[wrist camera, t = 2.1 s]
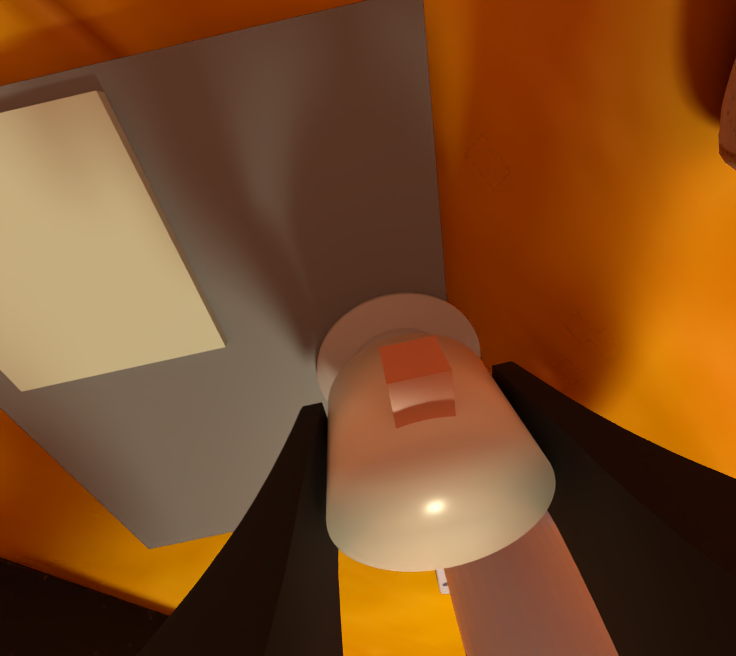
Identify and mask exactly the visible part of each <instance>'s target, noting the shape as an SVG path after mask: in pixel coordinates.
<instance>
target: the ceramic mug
mask: <svg viewBox="0 0 736 656" xmlns="http://www.w3.org/2000/svg"><path fill="white" fill-rule="evenodd" d="M719 154H720V155H721V157H722V158H723V160H724V161H725V163H727V164H728V165H729V166H731V167H732V168H733V169H735V170H736V58H735V61H734V64H733V67H732V71H731V74H730V77H729V80H728V84H727V87H726V91H725V95H724V99H723V103H722V109H721V119H720V129H719Z"/></svg>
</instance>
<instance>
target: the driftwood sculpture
mask: <svg viewBox="0 0 736 656" xmlns="http://www.w3.org/2000/svg"><path fill="white" fill-rule="evenodd" d="M168 618H169V616H166V615H163V614H161V613H158V612H155V611H152V610H149V609H146V608H143V607H140V606H138V605H135V604H131V603H128V602H126V601H123V600H119V599H117V598H115V597H112V596H108V595H105V594H102V593H99V592H96V591H92V590H90V589H87V588H84V587H81V586H78V585H75V584H73V583H70V582H67V581H64V580H61V579H58V578H56V577H53V576H50V575H47V574H44V573H41V572H38V571H35V570H32V569H29V568H26V567H22V566H19V565H17V564H14V563H12V562H9V561H6V560H2V559H0V656H136V655H137V654H138V653H139V652H140V651H141V650H142V649H143V647H144V646H145V645H146V644H147V643H148V642H149V640H150V639H151V638H152V637H153V636H154V635H155V633H156V632H157V631H158V630H159V629H160V627H161V626H162V625H163V624H164V623H165V621H166V620H167V619H168Z"/></svg>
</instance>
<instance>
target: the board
mask: <svg viewBox="0 0 736 656" xmlns="http://www.w3.org/2000/svg"><path fill="white" fill-rule="evenodd" d="M415 333H426V334H436V335H441V336H445V337H448V338H451V339H454V340H456V341H458V342H460V343H462V344H464V345H465V346H467V347H468V348H470V349H471V350H472V351H473V352H474V353H475V354H476V355H477V356H478V357H479V358H480V359H481V350H480V343H479V340H478V336H477V334H476V332H475V330H474V328H473V326H472V325H471V323H470V322H469V321H468V319H467V318H466V317H465V315H464V314H463V313H462V312H461V311H460V310H459V309H457V308H456V307H455V306H453V305H452V304H451V303H449V302H447V294H446V282H445V269H444V257H443V244H442V231H441V219H440V206H439V193H438V181H437V168H436V156H435V143H434V130H433V118H432V105H431V92H430V80H429V67H428V55H427V42H426V29H425V17H424V4H423V0H366V1H362V2H358V3H353V4H349V5H345V6H341V7H336V8H332V9H328V10H324V11H319V12H315V13H311V14H306V15H302V16H298V17H294V18H289V19H285V20H281V21H277V22H272V23H268V24H264V25H259V26H255V27H251V28H247V29H242V30H238V31H234V32H230V33H225V34H221V35H217V36H213V37H208V38H204V39H200V40H195V41H191V42H187V43H183V44H178V45H174V46H170V47H166V48H161V49H157V50H153V51H148V52H144V53H140V54H136V55H131V56H127V57H123V58H119V59H114V60H110V61H106V62H101V63H97V64H93V65H89V66H84V67H80V68H76V69H72V70H67V71H63V72H59V73H55V74H50V75H46V76H42V77H37V78H33V79H29V80H25V81H20V82H16V83H12V84H8V85H3V86H0V408H1V409H2V410H3V411H4V412H5V413H6V414H7V415H8V416H9V417H10V418H11V419H12V420H13V421H14V422H15V423H17V424H18V425H19V426H20V427H21V428H22V429H23V430H24V431H25V432H26V433H27V434H28V435H29V436H30V437H31V438H32V439H33V440H34V441H35V442H37V443H38V444H39V445H40V446H41V447H42V448H43V449H44V450H45V451H46V452H47V453H48V454H49V455H50V456H51V457H52V458H53V459H54V460H56V461H57V462H58V463H59V464H60V465H61V466H62V467H63V468H64V469H65V470H66V471H67V472H68V473H69V474H70V475H71V476H72V477H73V478H75V479H76V480H77V481H78V482H79V483H80V484H81V485H82V486H83V487H84V488H85V489H86V490H87V491H88V492H89V493H90V494H91V495H92V496H94V497H95V498H96V499H97V500H98V501H99V502H100V503H101V504H102V505H103V506H104V507H105V508H106V509H107V510H108V511H109V512H110V513H111V514H113V515H114V516H115V517H116V518H117V519H118V520H119V521H120V522H121V523H122V524H123V525H124V526H125V527H126V528H127V529H128V530H129V531H130V532H132V533H133V534H134V535H135V536H136V537H137V538H138V539H139V540H140V541H141V542H142V543H143V544H144V545H145V546H146V547H147V548H148V549H152V548H157V547H162V546H166V545H171V544H176V543H181V542H186V541H190V540H195V539H200V538H205V537H209V536H214V535H219V534H224V533H229V532H233V531H235V529H236V528H237V526H238V525H239V523H240V522H241V520H242V519H243V517H244V516H245V514H246V512H247V511H248V509H249V508H250V506H251V504H252V503H253V501H254V499H255V498H256V496H257V494H258V492H259V491H260V489H261V487H262V485H263V484H264V482H265V480H266V479H267V477H268V475H269V473H270V471H271V470H272V468H273V466H274V464H275V462H276V460H277V458H278V456H279V454H280V452H281V450H282V448H283V446H284V444H285V442H286V440H287V438H288V436H289V434H290V432H291V430H292V427H293V425H294V423H295V421H296V419H297V416H298V414H299V412H300V410H301V408H302V407H303V406H307V405H311V404H316V403H320V402H322V404H323V406H324V409H325V412H326V415H327V418H328V397H329V392H330V389H331V386H332V384H333V382H334V379H335V378H336V376H337V375H338V373H339V371H340V370H341V369H342V368H343V367H344V365H345V364H346V363H347V362H348V361H349V360H350V359H352V358H353V357H354V356H355V355H356V354H358V353H359V352H361V351H362V350H364V349H365V348H367V347H369V346H371V345H373V344H375V343H377V342H379V341H382V340H384V339H387V338H391V337H395V336H399V335H405V334H415Z"/></svg>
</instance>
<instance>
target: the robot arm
mask: <svg viewBox="0 0 736 656" xmlns="http://www.w3.org/2000/svg"><path fill="white" fill-rule="evenodd" d="M492 377H493V379H494V380H495V382H496V383H497V385H498V386H499V388H500V389H501V391H502V392H503V394H504V395H505V397H506V398H507V400H508V401H509V403H510V404H511V406H512V407H513V409H514V410H515V412H516V413H517V415H518V416H519V418H520V419H521V421H522V422H523V424H524V425H525V426H526V428H527V429H528V431H529V432H530V434H531V435H532V437H533V438H534V440H535V441H536V443H537V444H538V446H539V447H540V449H541V450H542V452H543V453H544V455H545V456H546V458H547V459H548V461H549V462H550V464H551V466H552V468H553V471H554V474H555V480H556V483H555V492H554V496H553V499H552V501H551V503H550V506H549V508H548V509H547V511H546V512H545V514H544V515H543V516H542V518H541V519H540V520H539V521H538V522H537V523H536V524H535V525H534V526H533V527H532V528H531V529H530V530H529V531H528V532H527V533H525V534H524V535H523V536H521V537H520V538H519V539H517V540H516V541H514V542H513V543H511V544H510V545H508V546H506V547H504V548H502V549H501V550H499V551H497V552H495V553H492V554H490V555H488V556H486V557H483V558H480V559H478V560H475V561H472V562H469V563H465V564H462V565H458V566H454V567H450V568H444V569H438V570H436V574H437V579H438V585H439V589H440V592H441V593H442V594H449V593H450V595H451V599H452V603H453V607H454V611H455V615H456V618H457V622H458V626H459V630H460V634H461V638H462V642H463V645H464V649H465V653H466V656H736V479H735V478H732V477H730V476H728V475H725V474H723V473H720V472H718V471H716V470H713V469H711V468H708V467H706V466H703V465H701V464H699V463H696V462H694V461H692V460H689V459H687V458H685V457H682V456H680V455H678V454H676V453H673V452H671V451H669V450H667V449H665V448H663V447H661V446H659V445H656V444H654V443H652V442H650V441H648V440H646V439H644V438H642V437H640V436H638V435H636V434H634V433H632V432H630V431H628V430H626V429H624V428H622V427H620V426H618V425H616V424H614V423H613V422H611V421H609V420H607V419H605V418H603V417H602V416H600V415H598V414H596V413H594V412H593V411H591V410H589V409H587V408H586V407H584V406H582V405H581V404H579V403H577V402H575V401H574V400H572V399H570V398H569V397H567V396H566V395H564V394H562V393H561V392H559V391H557V390H556V389H554V388H553V387H551V386H550V385H548V384H546V383H545V382H543V381H542V380H540V379H539V378H537V377H536V376H534V375H532V374H531V373H529V372H528V371H526V370H525V369H523V368H522V367H520V366H519V365H517V364H515V363H514V362H512V361H511V362H507V363H502V364H497V365H493V366H492ZM327 423H328V418H327V415H326V412H325V409H324V406H323V404H322V402H320V403H316V404H311V405H307V406H303V407H302V408H301V410H300V412H299V414H298V416H297V419H296V421H295V423H294V425H293V427H292V430H291V432H290V434H289V436H288V438H287V440H286V442H285V444H284V446H283V448H282V450H281V452H280V454H279V456H278V458H277V460H276V462H275V464H274V466H273V468H272V470H271V471H270V473H269V475H268V477H267V479H266V480H265V482H264V484H263V485H262V487H261V489H260V491H259V492H258V494H257V496H256V498H255V499H254V501H253V503H252V504H251V506H250V508H249V509H248V511H247V512H246V514H245V516H244V517H243V519H242V520H241V522H240V523H239V525H238V526H237V528H236V529H235V531H234V532H233V534H232V535H231V537H230V538H229V540H228V541H227V542H226V544H225V545H224V547H223V548H222V549H221V551H220V552H219V554H218V555H217V556H216V558H215V559H214V560H213V562H212V563H211V565H210V566H209V567H208V569H207V570H206V571H205V573H204V574H203V575H202V577H201V578H200V579H199V581H198V582H197V583H196V584H195V586H194V587H193V588H192V590H191V591H190V592H189V593H188V595H187V596H186V597H185V598H184V599H183V601H182V602H181V603H180V604H179V605H178V607H177V608H176V609H175V610H174V612H173V613H172V614H171V615H170V616H169V618H168V619H167V620H166V621H165V623H164V624H163V625H162V626H161V627H160V629H159V630H158V631H157V632H156V633H155V635H154V636H153V637H152V638H151V639H150V640H149V642H148V643H147V644H146V645H145V646H144V647H143V649H142V650H141V651H140V652H139V653H138V654H137V655H136V656H343V647H342V632H341V616H340V598H339V580H338V547H337V546H336V545H335V544H334V543H333V541H332V539H331V538H330V536H329V533H328V530H327V524H326V490H327Z"/></svg>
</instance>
